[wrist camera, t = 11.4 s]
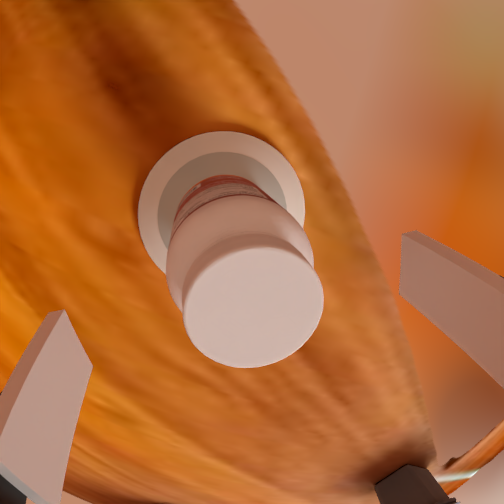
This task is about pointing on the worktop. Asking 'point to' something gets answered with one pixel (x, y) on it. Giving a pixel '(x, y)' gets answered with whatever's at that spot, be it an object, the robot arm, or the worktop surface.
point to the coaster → (206, 165)
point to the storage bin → (412, 488)
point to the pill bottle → (242, 273)
